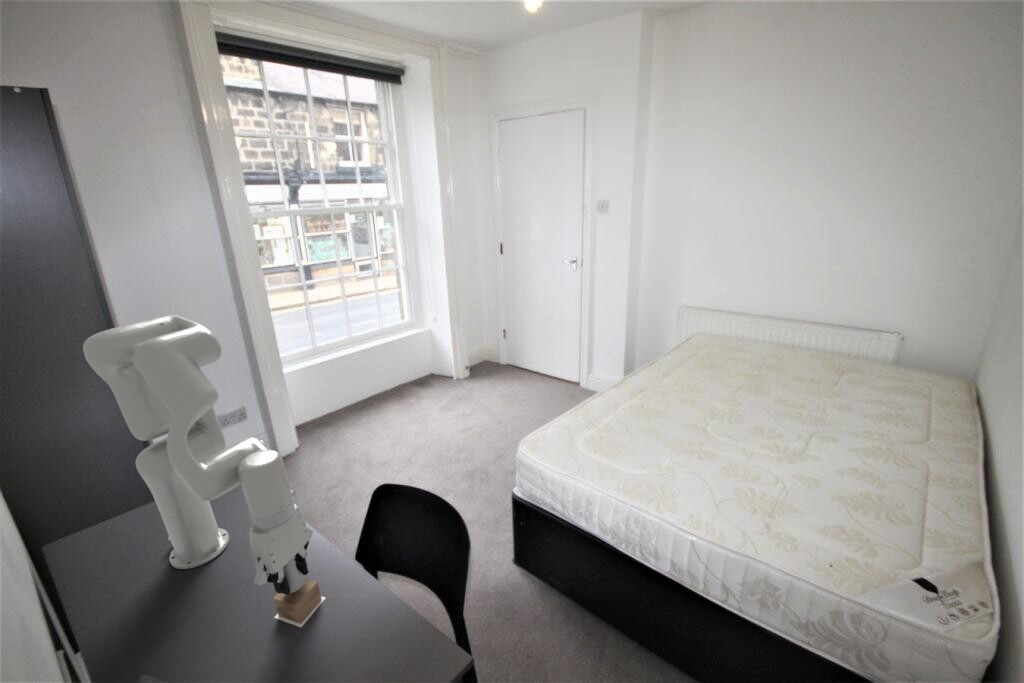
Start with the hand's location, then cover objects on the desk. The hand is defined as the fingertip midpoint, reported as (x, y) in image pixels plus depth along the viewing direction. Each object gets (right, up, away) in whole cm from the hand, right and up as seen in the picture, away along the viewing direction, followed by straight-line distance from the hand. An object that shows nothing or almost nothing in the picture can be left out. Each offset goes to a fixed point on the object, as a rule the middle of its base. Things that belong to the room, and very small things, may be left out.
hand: (292, 581), depth 94 cm
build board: (0, -8, +3) cm, 8 cm away
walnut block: (0, -7, +2) cm, 7 cm away
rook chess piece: (0, -1, 0) cm, 1 cm away
